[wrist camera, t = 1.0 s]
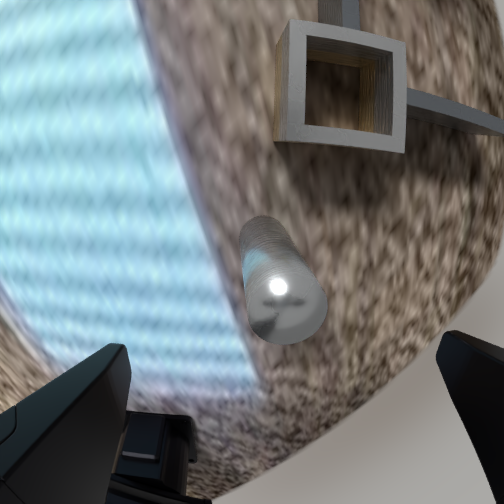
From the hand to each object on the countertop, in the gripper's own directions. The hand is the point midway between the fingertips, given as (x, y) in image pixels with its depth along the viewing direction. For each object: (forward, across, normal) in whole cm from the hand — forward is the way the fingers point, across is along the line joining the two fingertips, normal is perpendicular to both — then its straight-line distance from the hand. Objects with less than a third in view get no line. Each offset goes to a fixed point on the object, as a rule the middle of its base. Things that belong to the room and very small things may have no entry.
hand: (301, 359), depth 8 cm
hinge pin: (+10, 0, 0) cm, 10 cm away
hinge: (+10, -7, -13) cm, 18 cm away
